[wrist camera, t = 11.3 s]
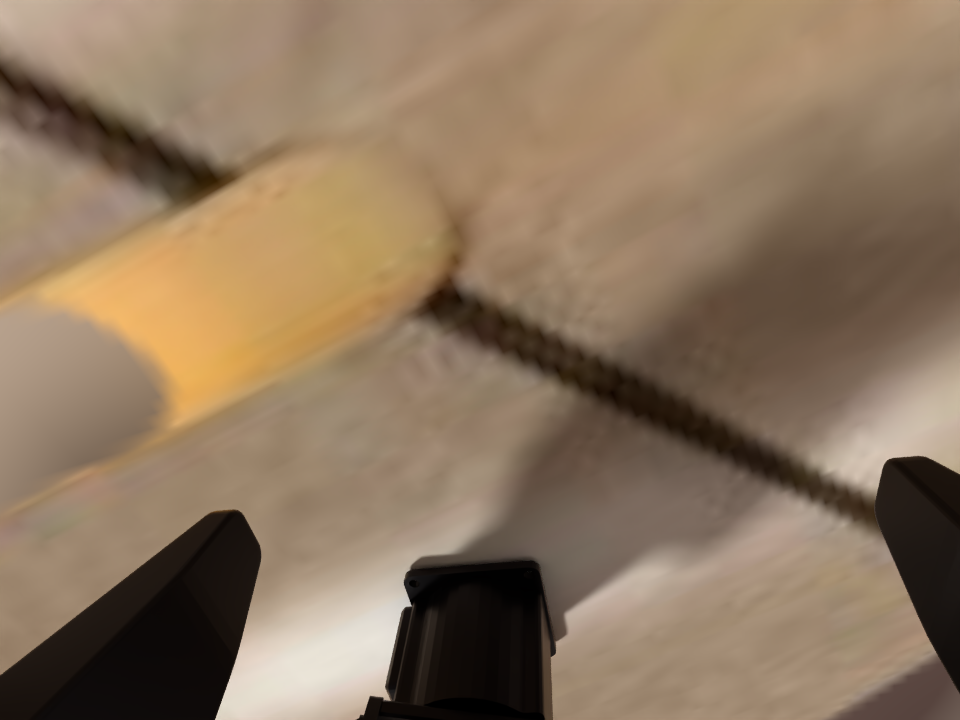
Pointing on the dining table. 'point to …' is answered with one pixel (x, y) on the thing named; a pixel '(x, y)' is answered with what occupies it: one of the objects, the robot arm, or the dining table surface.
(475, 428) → the dining table surface
